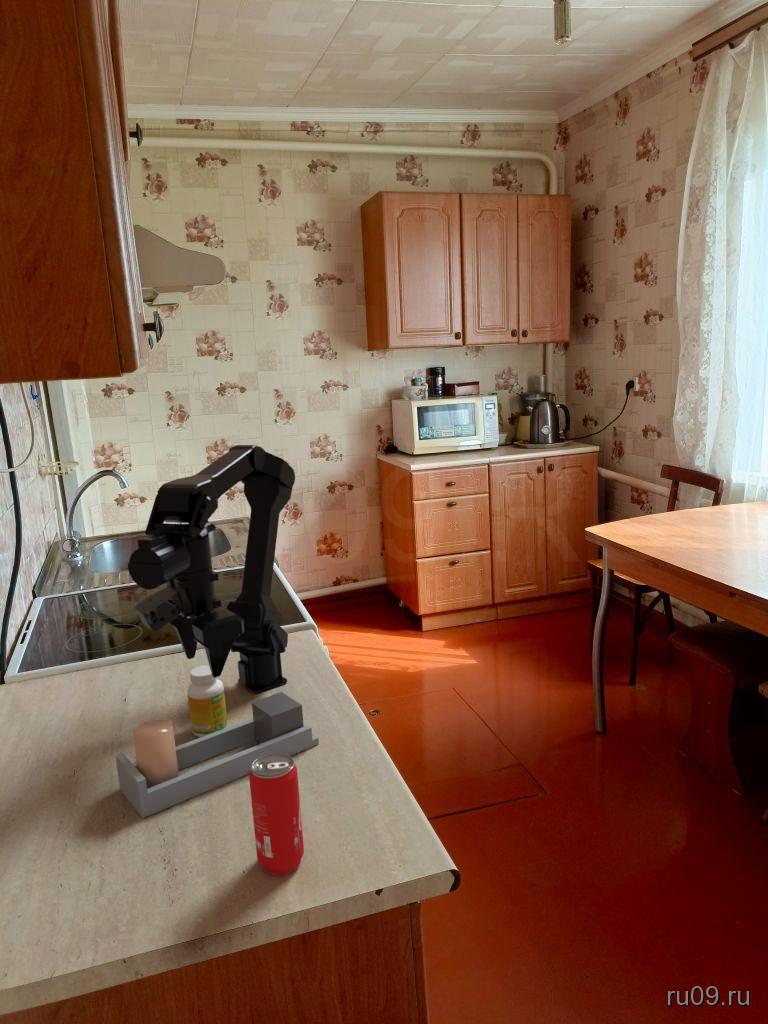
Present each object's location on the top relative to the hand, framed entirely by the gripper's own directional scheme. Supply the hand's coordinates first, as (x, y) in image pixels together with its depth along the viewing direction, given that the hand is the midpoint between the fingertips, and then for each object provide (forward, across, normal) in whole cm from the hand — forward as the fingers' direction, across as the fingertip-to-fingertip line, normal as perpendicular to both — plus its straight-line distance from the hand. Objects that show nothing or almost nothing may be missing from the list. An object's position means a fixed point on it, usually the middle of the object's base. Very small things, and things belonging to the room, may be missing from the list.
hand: (203, 667), depth 111 cm
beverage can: (+10, +34, -7) cm, 36 cm away
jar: (+10, +11, -12) cm, 19 cm away
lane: (+10, +11, -3) cm, 15 cm away
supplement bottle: (+10, 0, 0) cm, 10 cm away
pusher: (+10, +11, +6) cm, 16 cm away
